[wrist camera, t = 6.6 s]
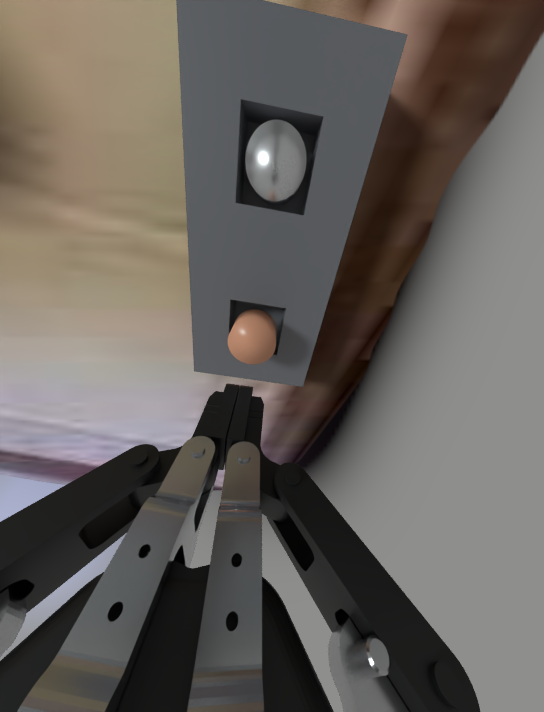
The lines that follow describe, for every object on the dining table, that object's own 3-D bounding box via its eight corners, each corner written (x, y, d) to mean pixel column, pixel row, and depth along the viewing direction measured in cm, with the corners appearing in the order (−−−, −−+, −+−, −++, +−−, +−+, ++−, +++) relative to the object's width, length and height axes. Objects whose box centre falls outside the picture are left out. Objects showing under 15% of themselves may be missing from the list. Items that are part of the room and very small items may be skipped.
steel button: (253, 132, 15) (248, 113, 13) (307, 143, 15) (313, 126, 13) (248, 200, 17) (243, 195, 15) (296, 209, 17) (299, 205, 15)
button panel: (201, 41, 14) (175, -21, 10) (377, 80, 14) (407, 34, 11) (205, 352, 26) (194, 371, 23) (299, 366, 27) (302, 386, 23)
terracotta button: (235, 305, 19) (228, 317, 16) (279, 312, 19) (279, 325, 16) (233, 344, 21) (226, 360, 18) (272, 350, 21) (271, 367, 19)
